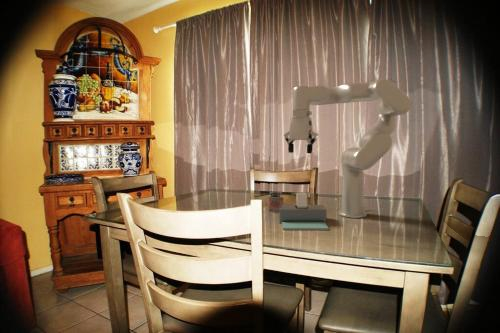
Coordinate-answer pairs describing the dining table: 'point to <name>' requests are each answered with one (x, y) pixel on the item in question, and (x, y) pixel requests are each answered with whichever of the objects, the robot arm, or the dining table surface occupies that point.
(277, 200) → the lighter
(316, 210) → the rail
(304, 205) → the peg
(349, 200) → the robot arm
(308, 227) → the mat
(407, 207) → the dining table surface
